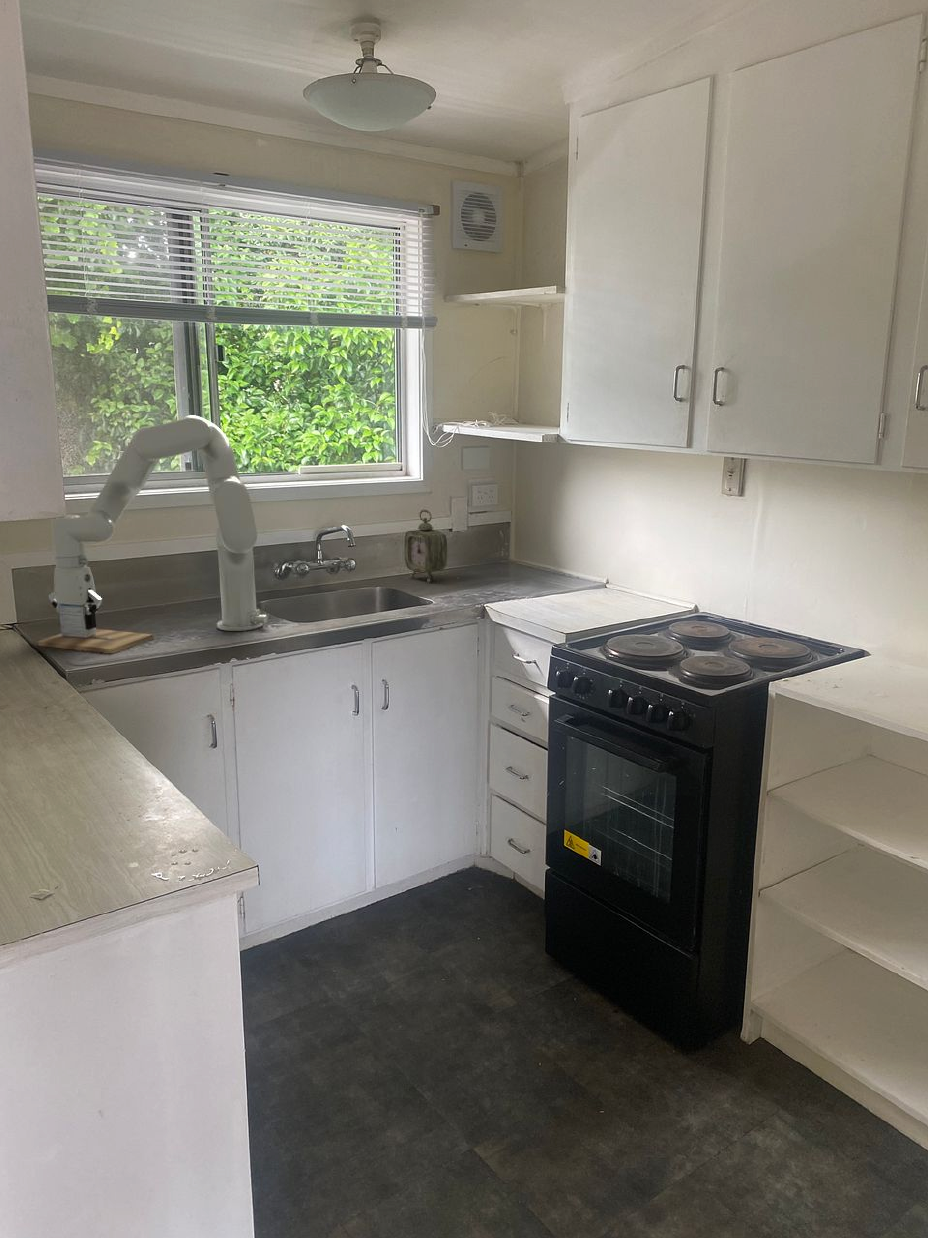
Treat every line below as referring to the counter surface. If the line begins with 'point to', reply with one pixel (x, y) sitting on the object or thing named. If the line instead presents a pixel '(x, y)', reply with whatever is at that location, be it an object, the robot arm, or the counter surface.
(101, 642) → the light brown wooden board
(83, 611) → the medicine box
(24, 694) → the counter surface
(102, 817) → the counter surface
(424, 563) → the tabletop clock
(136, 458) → the robot arm
